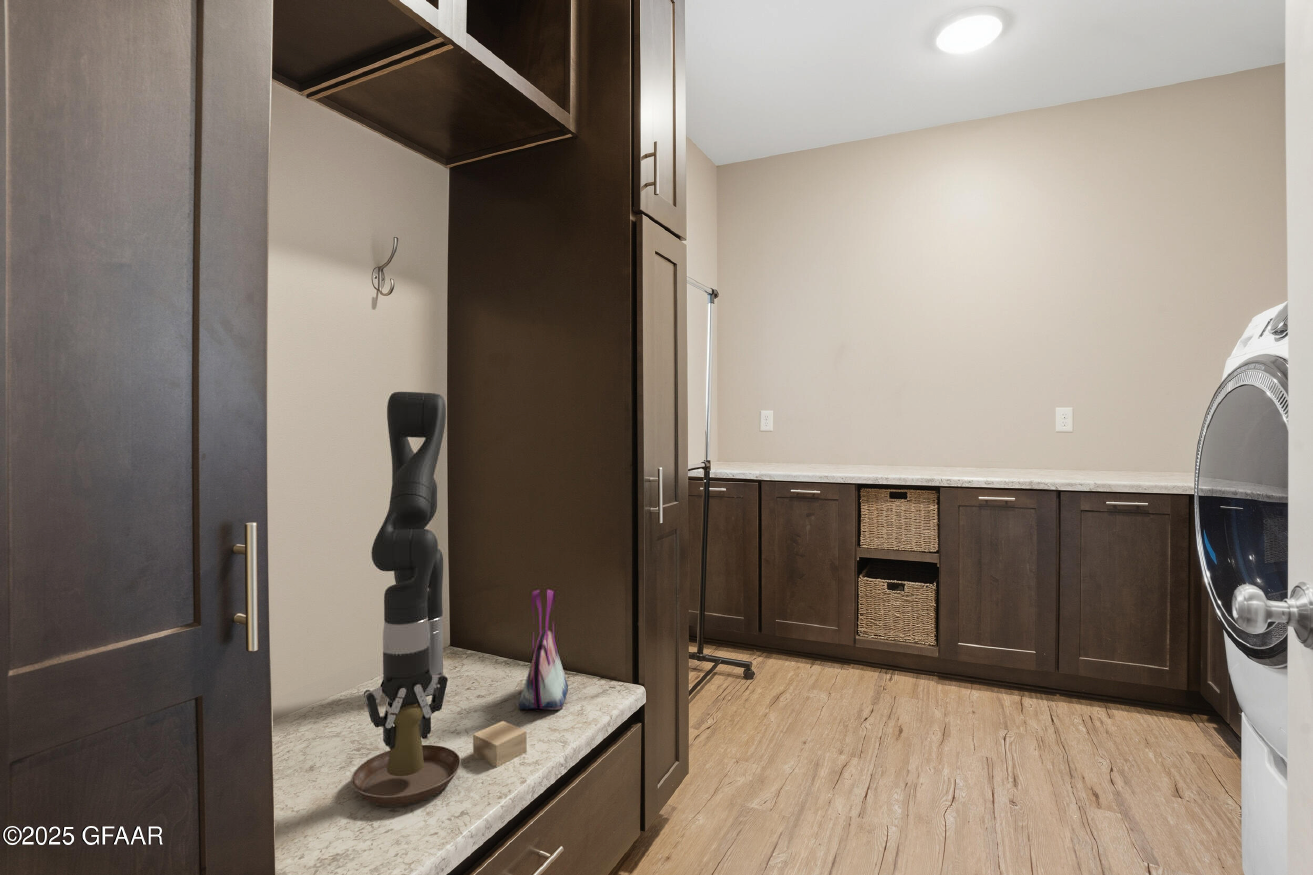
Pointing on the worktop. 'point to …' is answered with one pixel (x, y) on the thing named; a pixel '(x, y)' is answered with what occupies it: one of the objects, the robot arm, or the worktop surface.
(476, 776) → the worktop surface
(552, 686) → the handbag
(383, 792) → the plant saucer
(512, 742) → the oak base block
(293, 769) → the worktop surface
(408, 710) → the olive green pawn
